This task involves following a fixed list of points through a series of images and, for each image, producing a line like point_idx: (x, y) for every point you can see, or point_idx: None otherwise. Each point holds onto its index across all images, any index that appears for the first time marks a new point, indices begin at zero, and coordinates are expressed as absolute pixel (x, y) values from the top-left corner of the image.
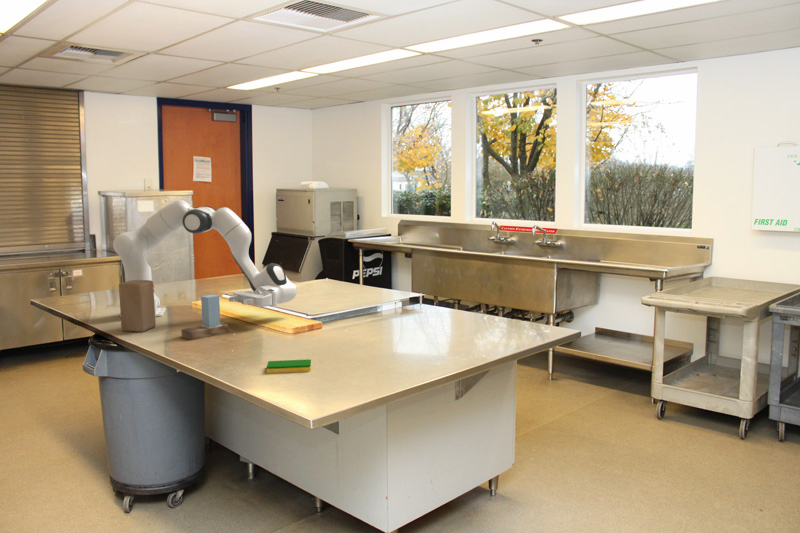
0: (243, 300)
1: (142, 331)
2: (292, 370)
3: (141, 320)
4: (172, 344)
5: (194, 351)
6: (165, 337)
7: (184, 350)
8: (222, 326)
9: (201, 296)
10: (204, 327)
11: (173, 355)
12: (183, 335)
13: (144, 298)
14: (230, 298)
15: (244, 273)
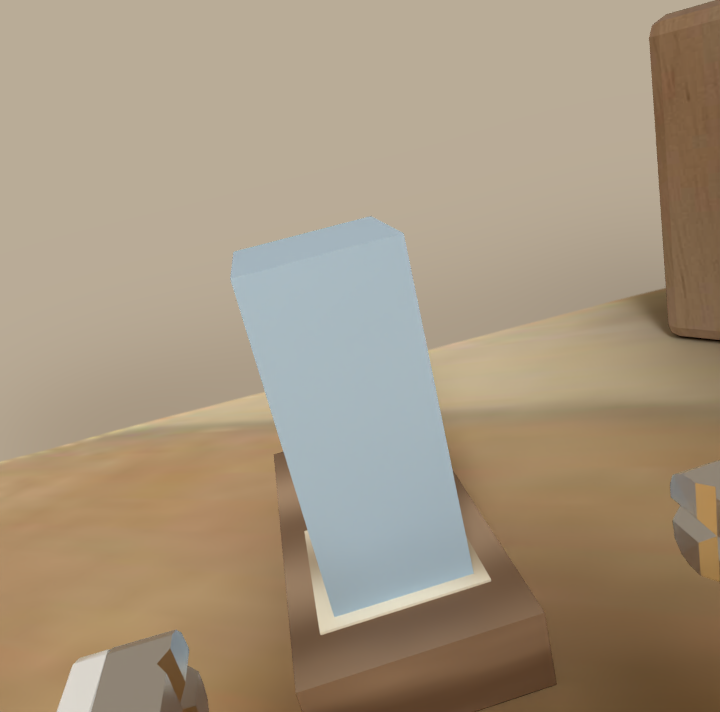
0: (119, 648)
1: (677, 333)
2: None
3: (665, 268)
4: None
5: (50, 504)
6: (469, 409)
7: (117, 475)
8: (291, 633)
9: (363, 219)
10: None
11: (92, 449)
12: None
13: (692, 128)
14: (686, 476)
15: None
